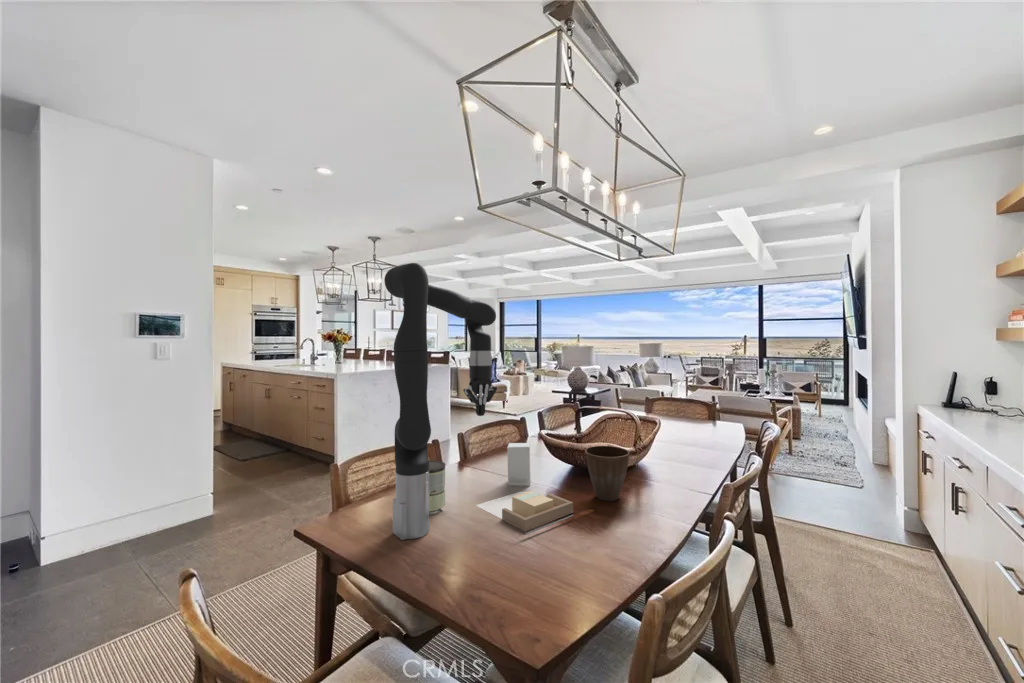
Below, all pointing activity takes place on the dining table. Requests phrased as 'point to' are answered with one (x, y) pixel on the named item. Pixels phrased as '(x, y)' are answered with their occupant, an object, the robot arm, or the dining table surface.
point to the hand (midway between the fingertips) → (480, 415)
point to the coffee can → (436, 486)
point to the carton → (530, 503)
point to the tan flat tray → (504, 512)
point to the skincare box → (519, 464)
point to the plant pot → (607, 470)
